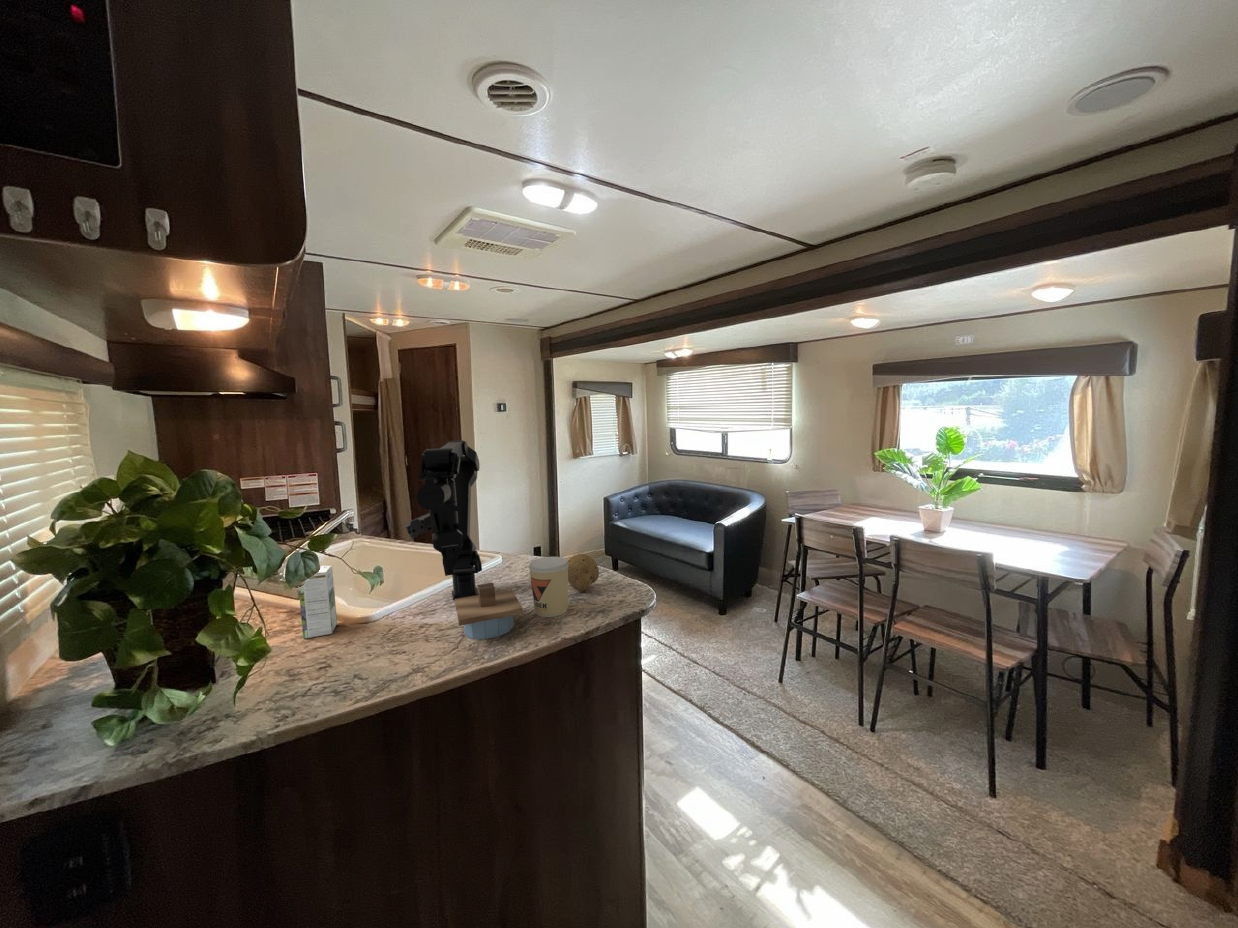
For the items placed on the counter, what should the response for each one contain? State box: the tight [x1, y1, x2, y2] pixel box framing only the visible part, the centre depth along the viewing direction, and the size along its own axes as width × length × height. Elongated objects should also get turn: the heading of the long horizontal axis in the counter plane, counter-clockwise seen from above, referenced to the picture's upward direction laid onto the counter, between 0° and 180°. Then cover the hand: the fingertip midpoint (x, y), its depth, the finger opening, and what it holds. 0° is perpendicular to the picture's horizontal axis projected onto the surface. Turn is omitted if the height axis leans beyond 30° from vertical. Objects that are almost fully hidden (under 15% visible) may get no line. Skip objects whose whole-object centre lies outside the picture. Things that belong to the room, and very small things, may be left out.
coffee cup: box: [528, 556, 569, 618], centre depth 114 cm, size 9×9×12 cm
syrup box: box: [298, 565, 338, 639], centre depth 108 cm, size 6×6×14 cm
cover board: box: [454, 582, 524, 627], centre depth 106 cm, size 13×13×5 cm
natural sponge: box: [567, 553, 600, 593], centre depth 127 cm, size 9×9×10 cm
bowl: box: [463, 615, 515, 640], centre depth 106 cm, size 10×10×4 cm
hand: (448, 567), depth 113 cm, fingers open, 9 cm apart
